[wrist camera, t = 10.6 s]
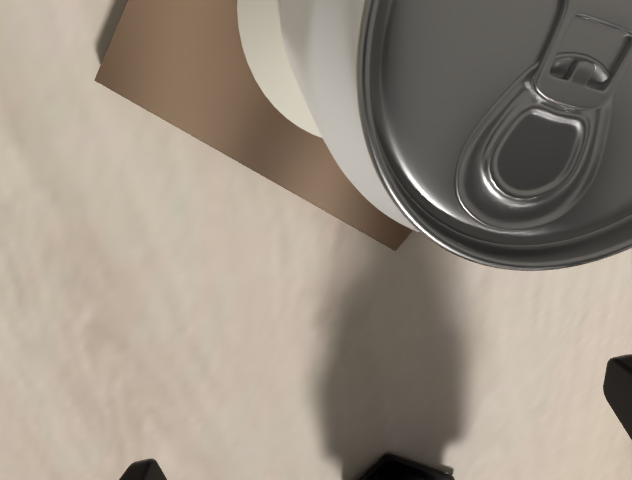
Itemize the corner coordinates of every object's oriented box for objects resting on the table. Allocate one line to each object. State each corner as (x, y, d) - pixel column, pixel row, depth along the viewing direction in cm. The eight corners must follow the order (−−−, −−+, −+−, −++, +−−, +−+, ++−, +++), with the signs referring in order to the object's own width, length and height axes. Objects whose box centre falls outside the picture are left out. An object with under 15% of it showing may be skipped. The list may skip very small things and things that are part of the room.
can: (261, 90, 16) (259, 257, 6) (304, -127, 13) (469, -632, 3) (421, 130, 17) (661, 324, 7) (491, -58, 15) (1081, -212, 4)
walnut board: (618, -43, 16) (642, -46, 15) (389, 240, 21) (396, 253, 20) (305, -398, 11) (309, -439, 10) (103, 76, 16) (92, 81, 15)
